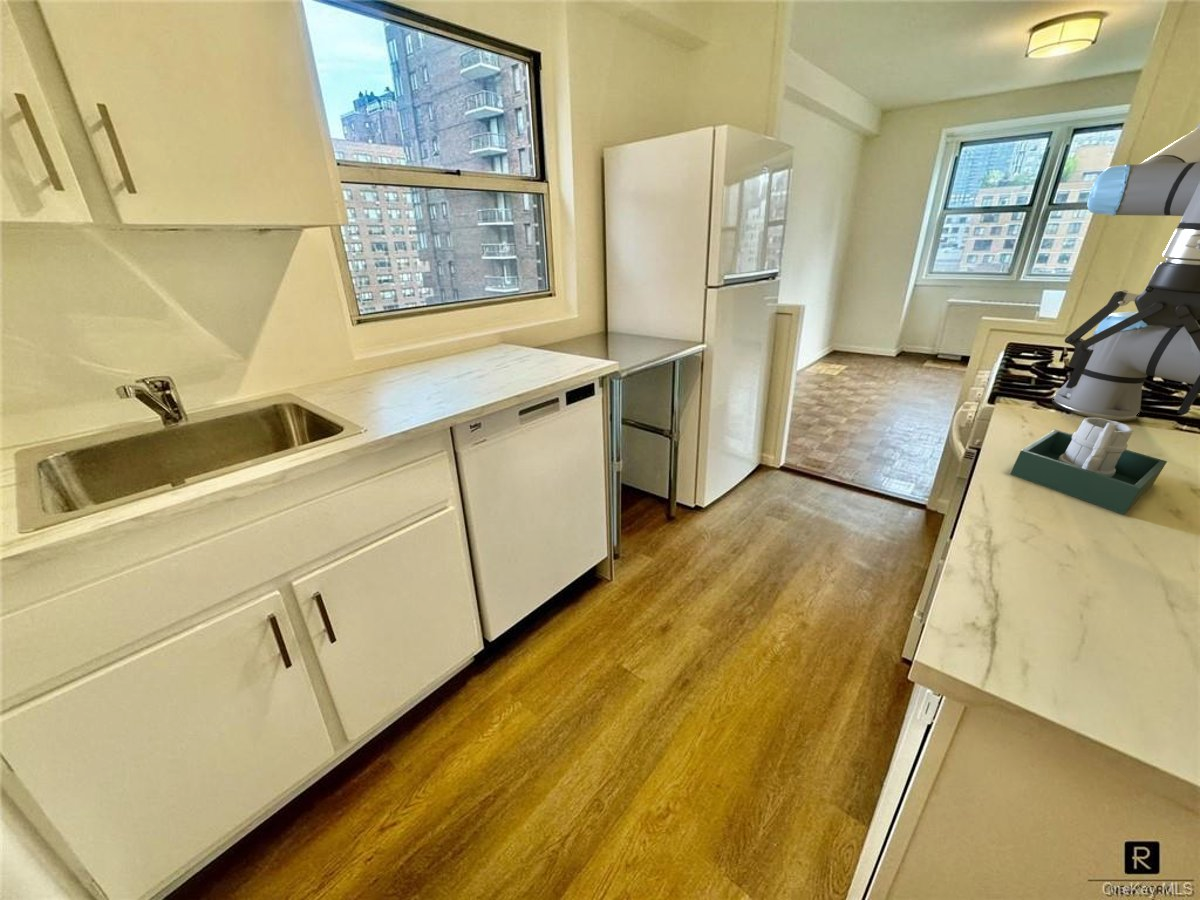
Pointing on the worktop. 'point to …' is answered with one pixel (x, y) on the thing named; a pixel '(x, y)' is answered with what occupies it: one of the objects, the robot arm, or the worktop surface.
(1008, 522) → the worktop surface
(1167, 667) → the worktop surface
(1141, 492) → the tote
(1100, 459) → the mug
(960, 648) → the worktop surface
